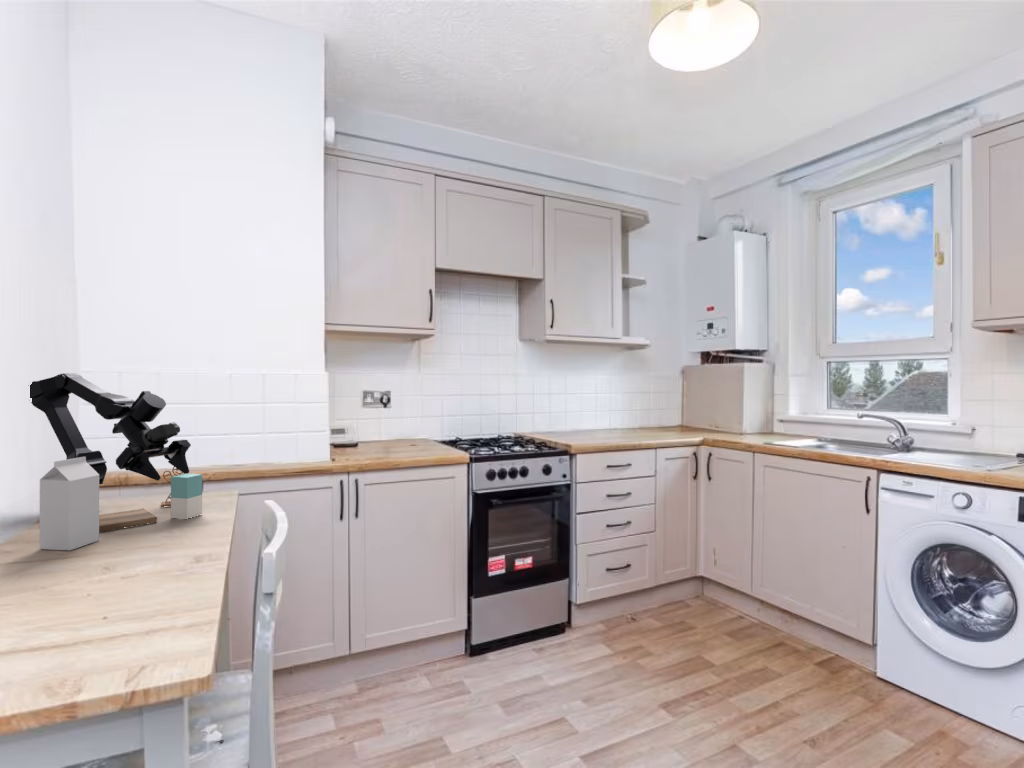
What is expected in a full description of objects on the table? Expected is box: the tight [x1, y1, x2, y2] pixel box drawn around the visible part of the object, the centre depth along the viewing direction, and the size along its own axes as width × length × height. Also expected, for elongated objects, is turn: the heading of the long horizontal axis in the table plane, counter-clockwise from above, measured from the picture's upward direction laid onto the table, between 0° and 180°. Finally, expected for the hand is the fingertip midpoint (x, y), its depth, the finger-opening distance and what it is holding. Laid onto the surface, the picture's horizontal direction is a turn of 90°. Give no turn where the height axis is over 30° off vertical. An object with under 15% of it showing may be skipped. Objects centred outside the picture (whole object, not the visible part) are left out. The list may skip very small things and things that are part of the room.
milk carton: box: [39, 457, 100, 551], centre depth 113 cm, size 7×7×19 cm
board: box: [99, 508, 158, 533], centre depth 131 cm, size 12×12×2 cm
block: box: [170, 473, 203, 520], centre depth 137 cm, size 5×5×11 cm
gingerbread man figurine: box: [160, 466, 185, 508], centre depth 150 cm, size 9×4×12 cm, turn 124°
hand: (174, 476), depth 138 cm, fingers open, 9 cm apart
